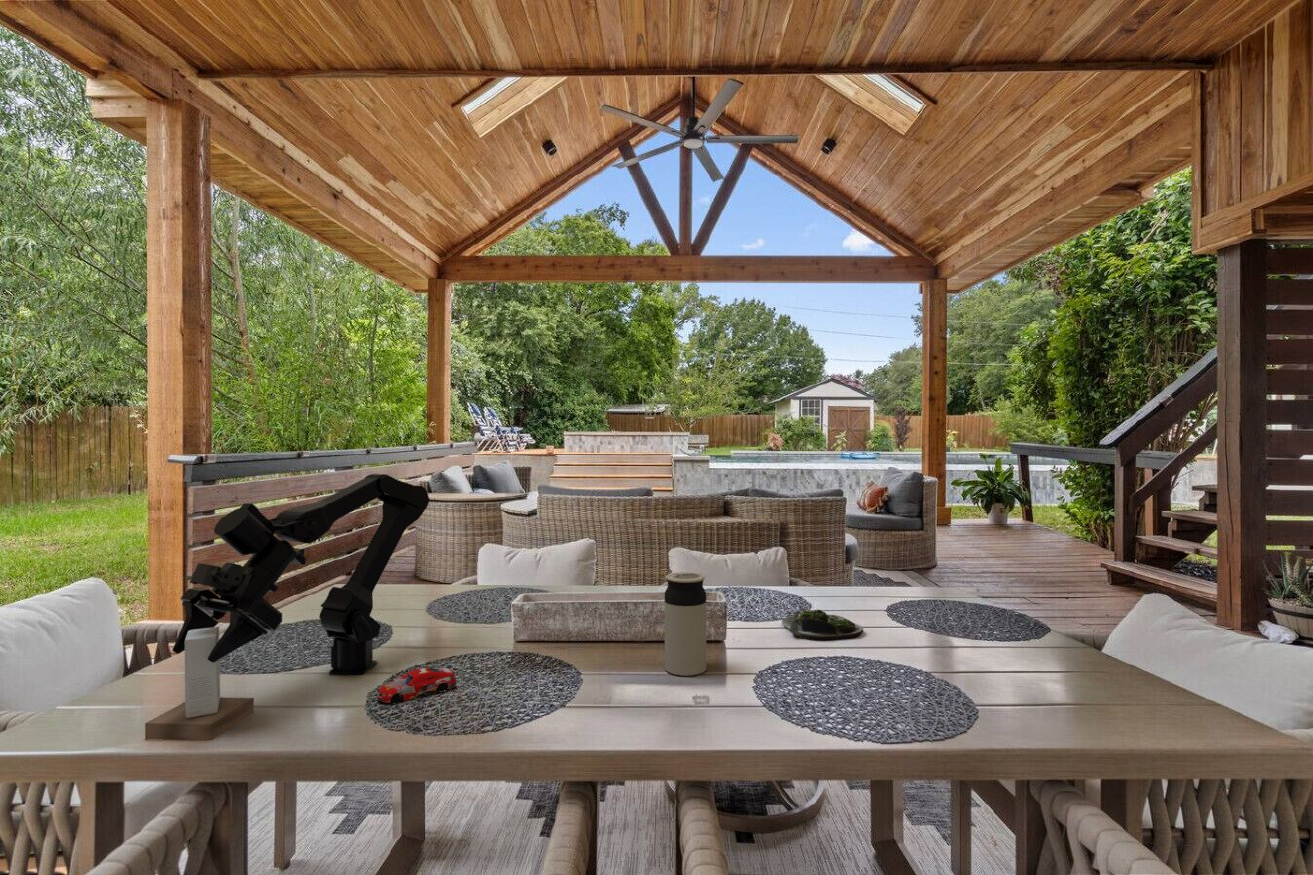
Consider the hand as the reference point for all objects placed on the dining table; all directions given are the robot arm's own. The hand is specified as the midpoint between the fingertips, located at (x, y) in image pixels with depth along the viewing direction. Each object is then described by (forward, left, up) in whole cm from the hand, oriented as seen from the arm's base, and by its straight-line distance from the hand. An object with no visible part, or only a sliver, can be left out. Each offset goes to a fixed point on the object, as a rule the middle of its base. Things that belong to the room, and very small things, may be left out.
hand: (192, 656), depth 103 cm
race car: (-29, -14, -12) cm, 35 cm away
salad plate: (-109, -52, -12) cm, 121 cm away
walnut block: (-1, -1, -12) cm, 12 cm away
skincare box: (-1, -1, -9) cm, 9 cm away
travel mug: (-77, -26, -11) cm, 82 cm away
